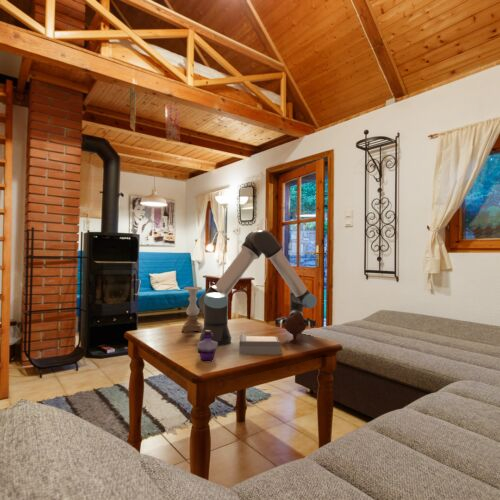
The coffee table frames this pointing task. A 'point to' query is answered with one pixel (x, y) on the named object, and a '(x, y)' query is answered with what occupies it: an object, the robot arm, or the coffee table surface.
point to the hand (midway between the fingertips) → (294, 325)
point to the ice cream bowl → (295, 326)
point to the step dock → (259, 345)
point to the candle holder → (192, 311)
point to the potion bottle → (207, 346)
